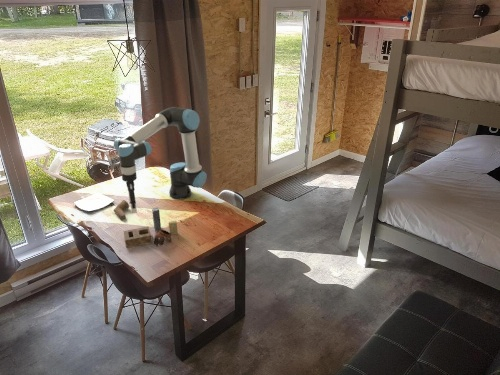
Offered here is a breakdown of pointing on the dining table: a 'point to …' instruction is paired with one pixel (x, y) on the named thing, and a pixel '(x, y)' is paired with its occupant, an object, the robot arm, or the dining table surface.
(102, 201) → the plate
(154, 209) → the square steel bit
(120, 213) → the pipe
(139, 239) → the socket block
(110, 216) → the dining table surface
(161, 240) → the pottery mug
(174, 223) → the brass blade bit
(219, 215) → the dining table surface
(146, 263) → the dining table surface
